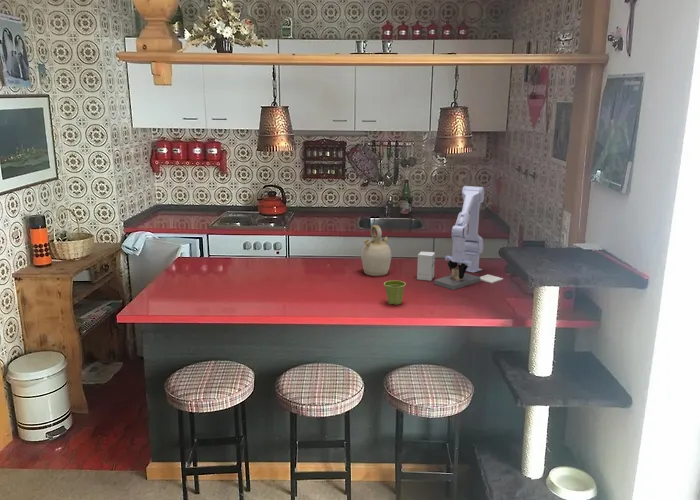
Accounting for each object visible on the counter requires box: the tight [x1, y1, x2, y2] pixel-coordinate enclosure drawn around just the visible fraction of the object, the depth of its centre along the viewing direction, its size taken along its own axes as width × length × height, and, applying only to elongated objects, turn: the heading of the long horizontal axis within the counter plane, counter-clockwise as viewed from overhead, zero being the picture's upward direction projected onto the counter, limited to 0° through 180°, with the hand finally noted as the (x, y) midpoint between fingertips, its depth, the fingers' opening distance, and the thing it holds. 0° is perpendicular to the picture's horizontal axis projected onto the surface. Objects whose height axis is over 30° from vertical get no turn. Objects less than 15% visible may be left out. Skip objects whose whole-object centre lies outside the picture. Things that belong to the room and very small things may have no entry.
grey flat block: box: [433, 272, 482, 291], centre depth 283 cm, size 12×20×2 cm, turn 130°
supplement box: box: [416, 251, 436, 282], centre depth 289 cm, size 7×7×13 cm
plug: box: [451, 266, 463, 281], centre depth 282 cm, size 4×4×7 cm
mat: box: [480, 274, 504, 284], centre depth 288 cm, size 9×9×1 cm
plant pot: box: [383, 280, 406, 305], centre depth 255 cm, size 9×9×9 cm
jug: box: [360, 224, 392, 277], centre depth 297 cm, size 15×16×25 cm
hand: (457, 277), depth 282 cm, fingers closed on plug, 4 cm apart
